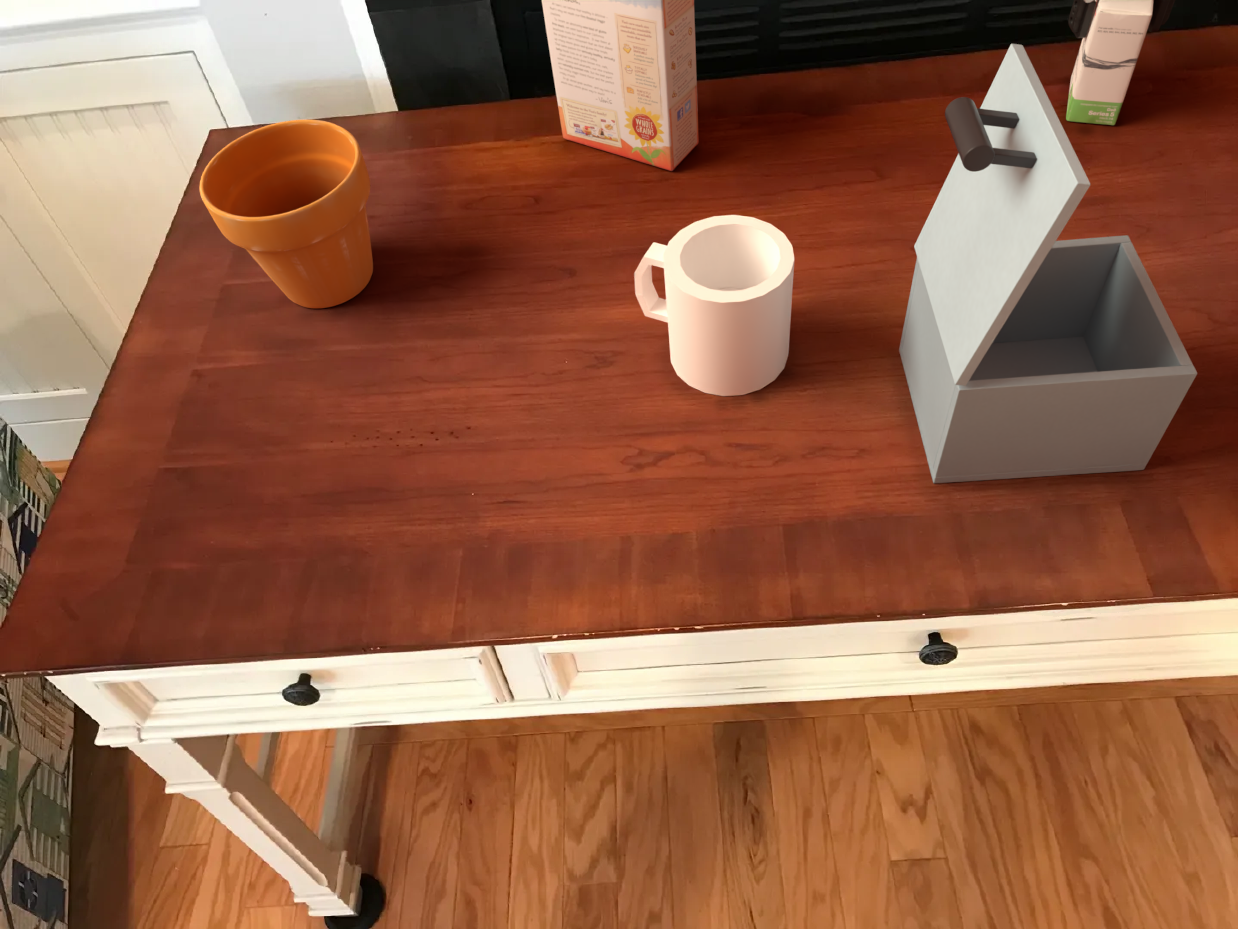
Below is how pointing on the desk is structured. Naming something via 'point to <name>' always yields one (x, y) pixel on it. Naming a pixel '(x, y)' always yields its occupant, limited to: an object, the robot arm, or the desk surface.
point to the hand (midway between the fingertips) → (1114, 29)
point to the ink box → (1107, 60)
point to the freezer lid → (996, 209)
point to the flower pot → (296, 207)
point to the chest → (1053, 373)
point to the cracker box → (626, 76)
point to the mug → (723, 302)
